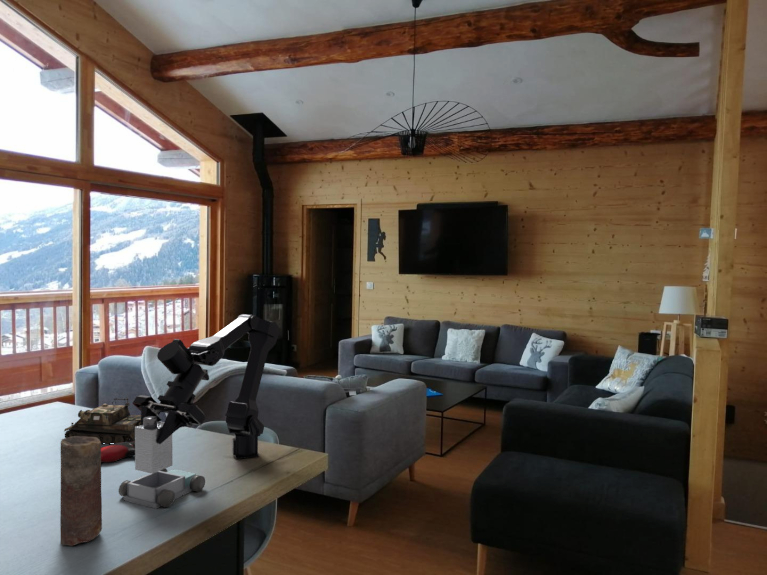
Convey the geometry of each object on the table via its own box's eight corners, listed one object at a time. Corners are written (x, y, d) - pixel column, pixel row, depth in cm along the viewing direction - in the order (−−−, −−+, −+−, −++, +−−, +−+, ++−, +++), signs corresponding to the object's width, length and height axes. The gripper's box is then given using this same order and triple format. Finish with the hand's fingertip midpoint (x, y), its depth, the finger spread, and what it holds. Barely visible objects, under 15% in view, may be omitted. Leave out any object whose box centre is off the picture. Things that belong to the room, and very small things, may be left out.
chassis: (164, 478, 149) (164, 463, 149) (206, 488, 143) (206, 471, 143) (117, 498, 136) (117, 481, 136) (162, 510, 130) (162, 492, 130)
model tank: (87, 431, 189) (86, 385, 188) (154, 434, 187) (154, 387, 187) (63, 444, 176) (62, 394, 175) (135, 446, 174) (135, 396, 174)
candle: (71, 529, 120) (70, 433, 119) (108, 529, 121) (107, 433, 120) (53, 548, 113) (52, 445, 112) (93, 547, 113) (92, 444, 112)
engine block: (155, 461, 142) (155, 412, 141) (172, 465, 139) (172, 415, 139) (135, 469, 136) (134, 418, 136) (152, 473, 134) (151, 421, 133)
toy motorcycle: (65, 460, 165) (63, 470, 151) (65, 442, 166) (64, 449, 152) (159, 451, 176) (166, 459, 162) (159, 433, 177) (166, 440, 163)
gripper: (229, 407, 147) (197, 464, 138) (174, 398, 155) (140, 451, 146) (206, 382, 139) (171, 440, 130) (150, 374, 148) (113, 428, 138)
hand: (149, 441), depth 136 cm, fingers closed on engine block, 5 cm apart
